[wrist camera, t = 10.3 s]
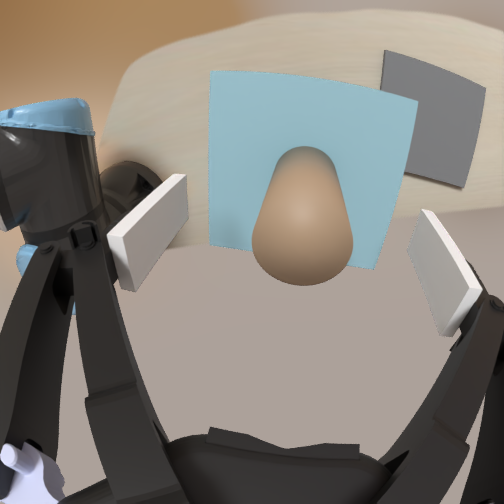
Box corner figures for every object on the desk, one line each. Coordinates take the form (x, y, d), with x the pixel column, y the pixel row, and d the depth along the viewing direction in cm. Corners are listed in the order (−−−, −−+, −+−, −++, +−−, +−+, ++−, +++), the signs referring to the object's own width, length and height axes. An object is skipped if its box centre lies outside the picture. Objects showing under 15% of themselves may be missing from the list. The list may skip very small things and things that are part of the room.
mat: (368, 161, 36) (369, 163, 35) (384, 50, 27) (385, 49, 26) (461, 185, 34) (463, 187, 33) (483, 87, 25) (485, 88, 24)
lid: (213, 237, 25) (168, 323, 17) (215, 71, 17) (140, 72, 9) (371, 261, 24) (391, 357, 16) (412, 99, 16) (490, 127, 8)
